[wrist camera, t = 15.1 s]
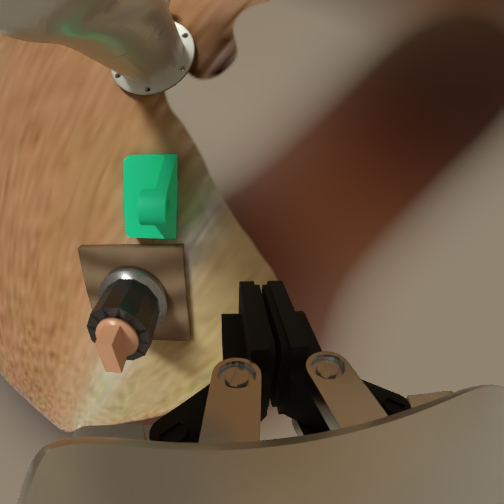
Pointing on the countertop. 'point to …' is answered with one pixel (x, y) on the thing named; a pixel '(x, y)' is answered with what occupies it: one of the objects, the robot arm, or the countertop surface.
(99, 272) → the mount board
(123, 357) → the tan knob
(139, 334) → the black hollow cylinder
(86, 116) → the countertop surface
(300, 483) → the robot arm
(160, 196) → the camera mount
